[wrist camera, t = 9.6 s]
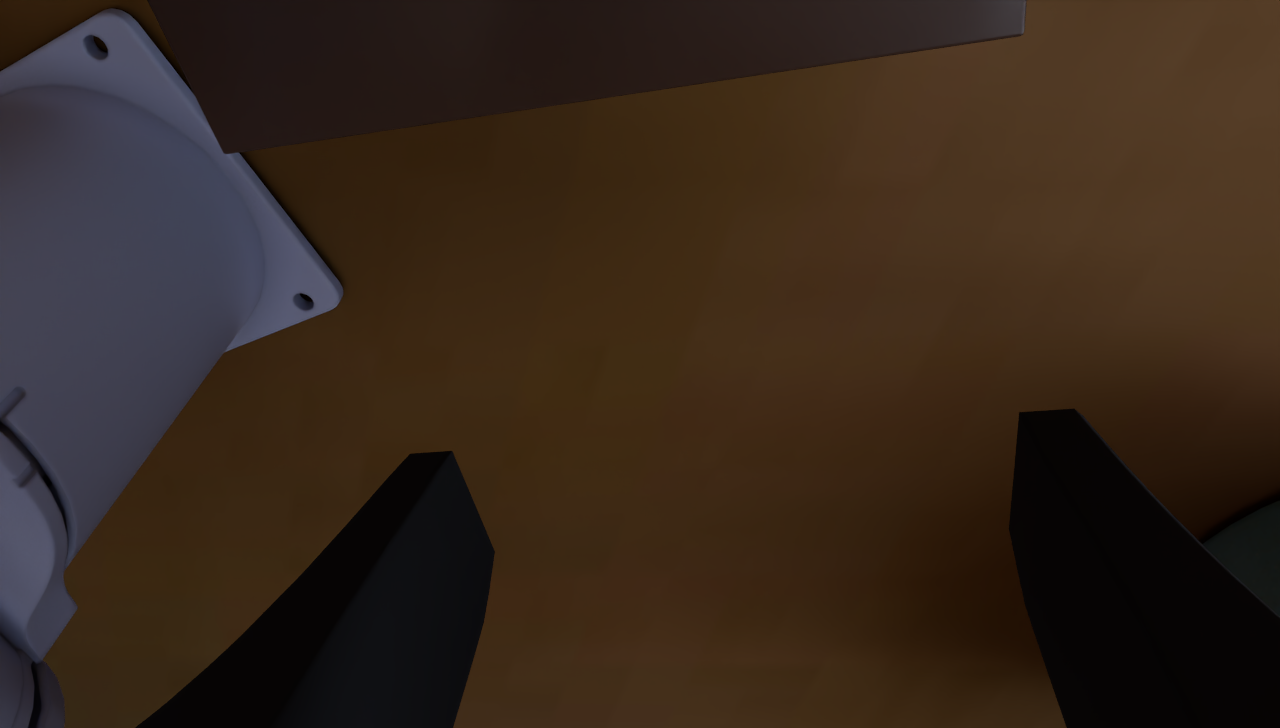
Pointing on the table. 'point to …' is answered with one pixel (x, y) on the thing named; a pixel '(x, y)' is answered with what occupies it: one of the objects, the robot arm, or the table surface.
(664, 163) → the table surface
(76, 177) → the robot arm
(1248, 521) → the flower pot
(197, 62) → the step shelf
